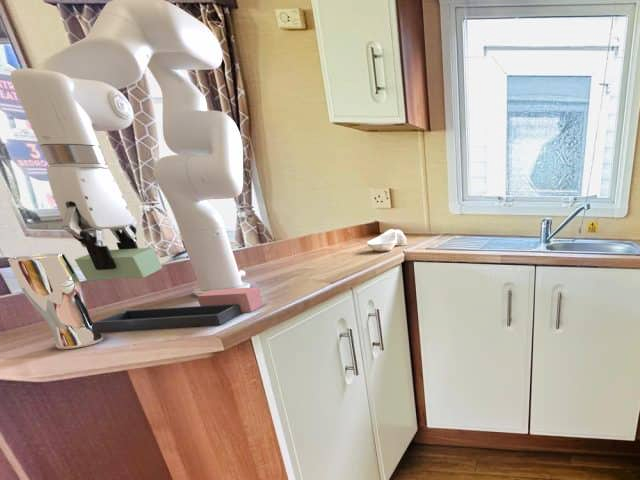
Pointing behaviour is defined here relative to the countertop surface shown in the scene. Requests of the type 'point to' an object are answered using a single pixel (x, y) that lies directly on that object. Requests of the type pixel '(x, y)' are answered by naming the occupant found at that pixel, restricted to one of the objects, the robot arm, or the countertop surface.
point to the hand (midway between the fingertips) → (120, 265)
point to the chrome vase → (56, 298)
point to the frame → (168, 318)
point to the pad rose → (233, 298)
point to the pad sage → (122, 265)
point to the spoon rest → (387, 240)
